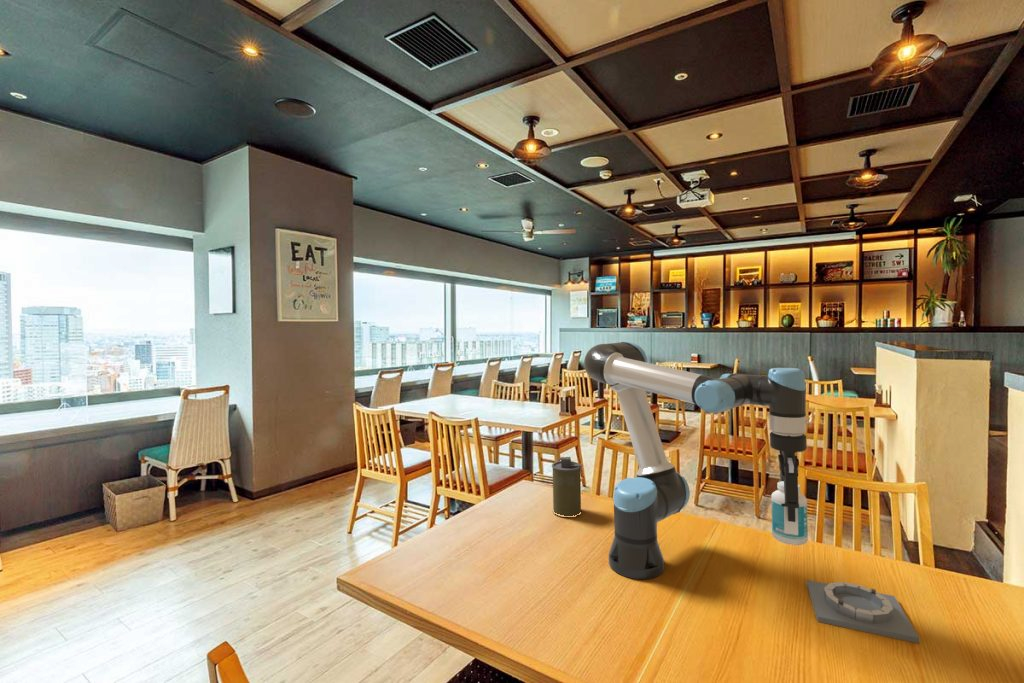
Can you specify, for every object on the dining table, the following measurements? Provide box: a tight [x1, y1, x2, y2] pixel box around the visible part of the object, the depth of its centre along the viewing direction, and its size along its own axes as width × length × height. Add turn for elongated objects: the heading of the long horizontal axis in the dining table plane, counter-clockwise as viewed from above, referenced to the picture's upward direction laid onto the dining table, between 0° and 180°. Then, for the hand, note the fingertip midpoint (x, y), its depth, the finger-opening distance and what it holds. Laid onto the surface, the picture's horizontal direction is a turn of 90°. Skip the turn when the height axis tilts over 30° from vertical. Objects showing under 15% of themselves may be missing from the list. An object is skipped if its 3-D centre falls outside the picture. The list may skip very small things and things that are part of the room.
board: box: [806, 579, 920, 644], centre depth 108 cm, size 18×16×1 cm
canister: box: [551, 456, 584, 516], centre depth 166 cm, size 11×10×20 cm
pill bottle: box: [770, 480, 809, 546], centre depth 111 cm, size 8×7×14 cm
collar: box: [824, 581, 893, 624], centre depth 107 cm, size 12×12×3 cm
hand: (789, 526), depth 111 cm, fingers closed on pill bottle, 7 cm apart
